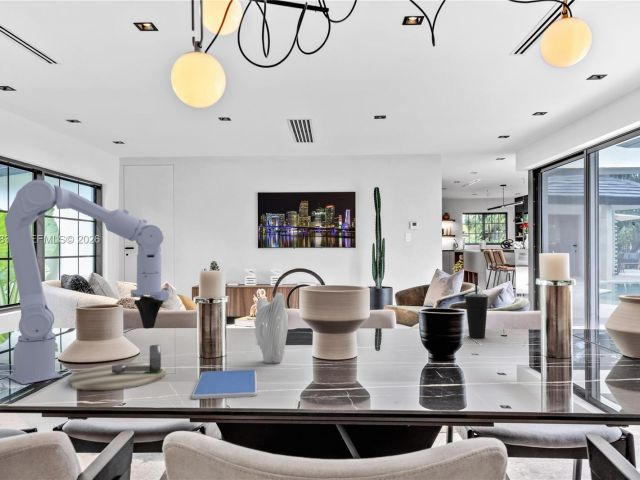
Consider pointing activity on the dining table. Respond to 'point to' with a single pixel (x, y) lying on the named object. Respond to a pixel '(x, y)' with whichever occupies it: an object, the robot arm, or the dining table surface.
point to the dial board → (113, 378)
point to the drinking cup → (476, 312)
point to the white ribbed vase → (271, 328)
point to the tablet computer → (226, 384)
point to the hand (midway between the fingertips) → (148, 327)
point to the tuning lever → (153, 367)
